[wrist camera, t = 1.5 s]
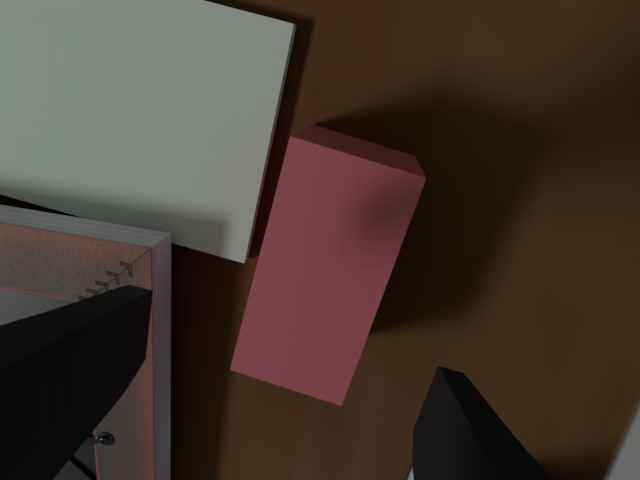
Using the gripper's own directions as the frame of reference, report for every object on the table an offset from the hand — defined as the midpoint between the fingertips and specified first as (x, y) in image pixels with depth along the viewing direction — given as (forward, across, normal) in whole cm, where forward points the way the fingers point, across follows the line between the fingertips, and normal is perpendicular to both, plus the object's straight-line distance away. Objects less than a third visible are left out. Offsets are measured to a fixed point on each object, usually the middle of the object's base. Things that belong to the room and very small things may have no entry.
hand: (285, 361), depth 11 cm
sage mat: (+10, +11, -3) cm, 15 cm away
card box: (+10, 0, 0) cm, 10 cm away
